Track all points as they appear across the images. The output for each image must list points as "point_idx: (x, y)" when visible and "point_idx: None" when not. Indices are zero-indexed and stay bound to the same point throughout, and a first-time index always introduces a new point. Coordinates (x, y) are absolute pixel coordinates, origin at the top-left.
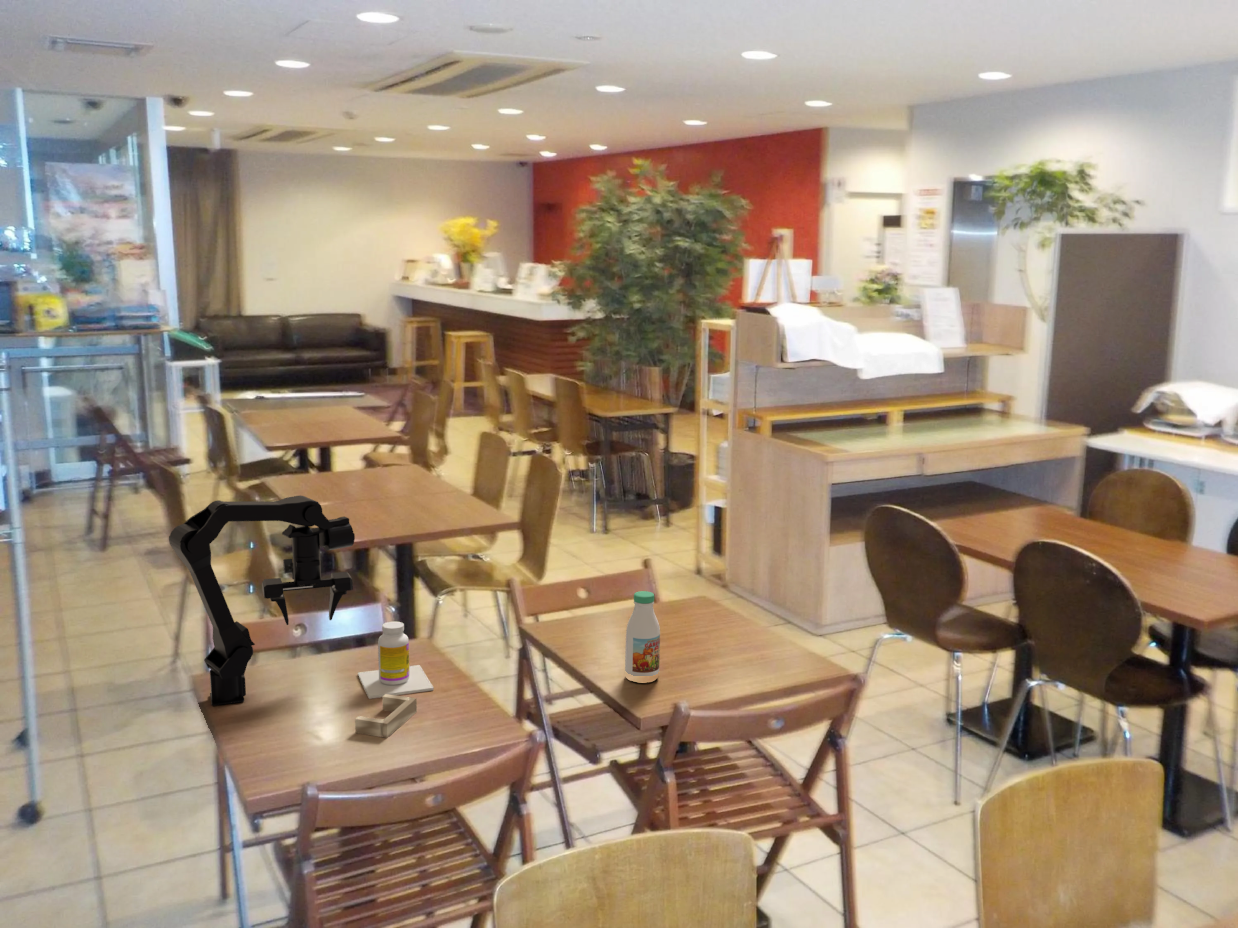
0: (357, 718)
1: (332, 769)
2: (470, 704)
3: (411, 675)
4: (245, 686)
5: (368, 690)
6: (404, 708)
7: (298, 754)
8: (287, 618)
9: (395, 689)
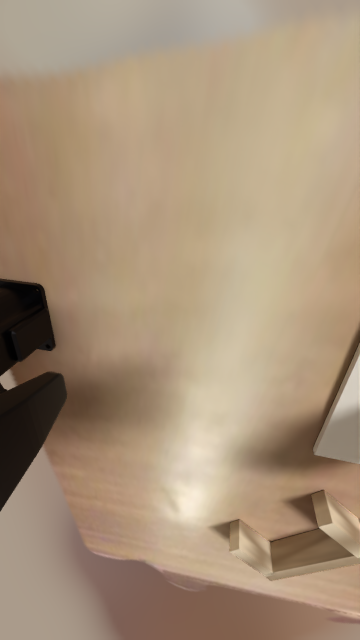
0: (233, 552)
1: (174, 559)
2: None
3: None
4: (39, 346)
5: (330, 432)
6: (328, 569)
7: (141, 522)
8: (29, 457)
9: None
